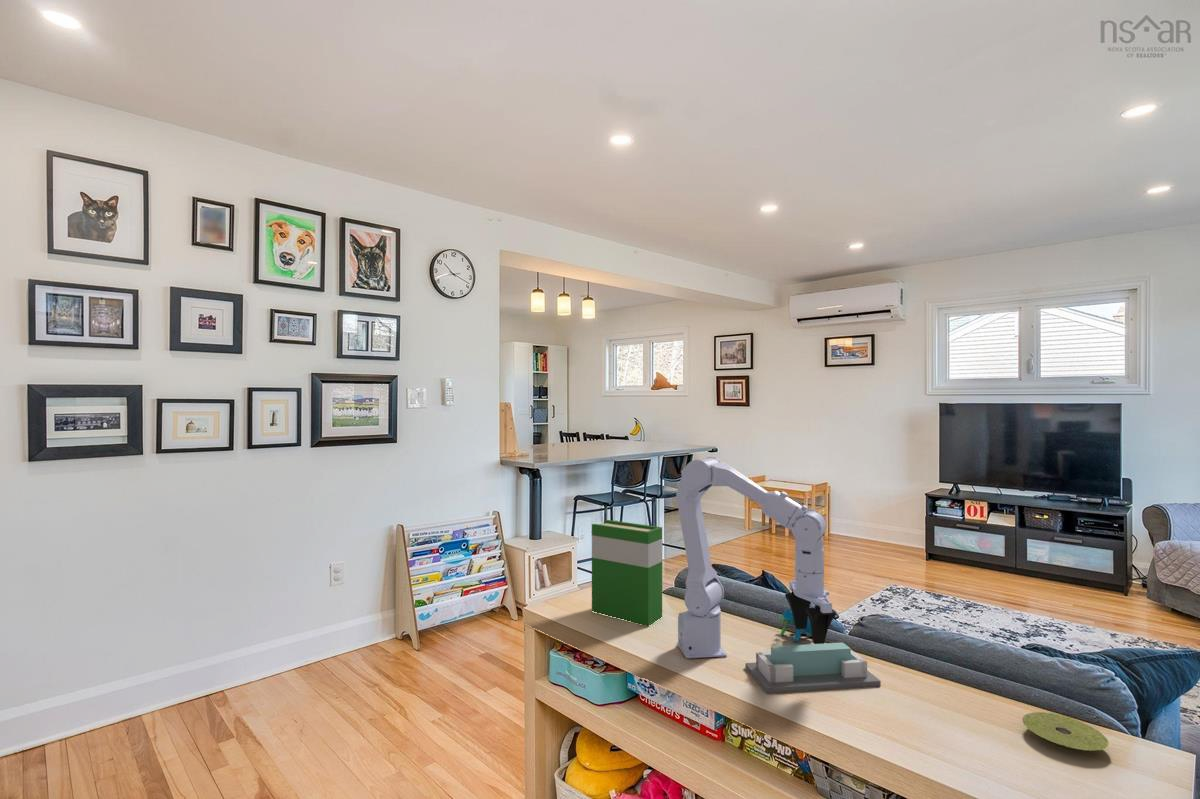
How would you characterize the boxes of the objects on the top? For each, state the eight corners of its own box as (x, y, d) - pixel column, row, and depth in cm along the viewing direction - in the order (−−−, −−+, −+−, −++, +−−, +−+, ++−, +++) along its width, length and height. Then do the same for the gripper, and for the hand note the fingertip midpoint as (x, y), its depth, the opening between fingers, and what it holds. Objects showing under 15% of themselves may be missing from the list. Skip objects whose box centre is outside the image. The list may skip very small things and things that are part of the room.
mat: (1111, 741, 96) (1111, 729, 96) (1105, 771, 88) (1105, 758, 88) (1028, 715, 104) (1028, 704, 104) (1016, 741, 96) (1016, 729, 96)
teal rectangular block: (777, 677, 117) (777, 652, 117) (770, 670, 120) (770, 646, 120) (850, 672, 119) (850, 648, 119) (842, 666, 122) (842, 642, 122)
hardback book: (591, 612, 156) (591, 524, 156) (606, 604, 162) (606, 519, 162) (648, 627, 146) (648, 532, 146) (662, 618, 152) (662, 527, 152)
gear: (833, 636, 136) (809, 610, 133) (823, 658, 133) (799, 633, 131) (796, 627, 145) (773, 603, 143) (787, 647, 143) (763, 623, 140)
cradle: (766, 693, 112) (766, 672, 112) (745, 667, 123) (745, 649, 123) (880, 685, 115) (880, 665, 115) (850, 661, 126) (849, 643, 126)
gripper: (846, 580, 113) (846, 649, 113) (810, 560, 127) (810, 621, 127) (812, 581, 112) (812, 651, 112) (780, 561, 127) (780, 622, 126)
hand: (809, 635), depth 120 cm, fingers open, 7 cm apart
